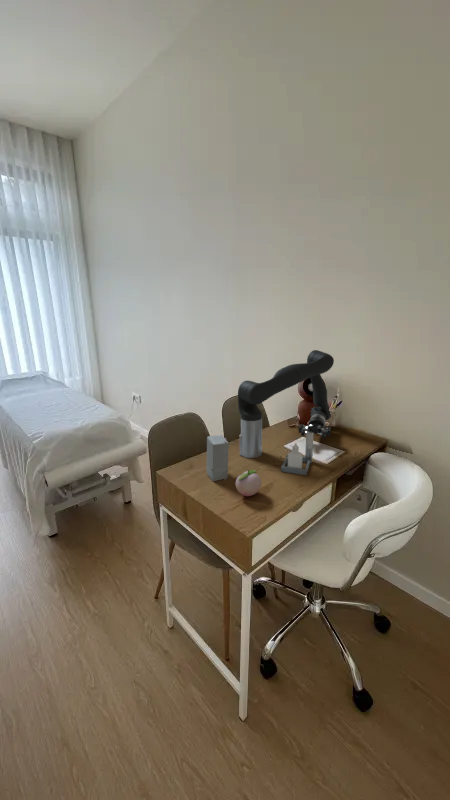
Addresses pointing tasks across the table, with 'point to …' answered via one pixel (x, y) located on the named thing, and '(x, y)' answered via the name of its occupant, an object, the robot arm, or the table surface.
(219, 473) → the skincare box
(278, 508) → the table surface
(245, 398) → the robot arm
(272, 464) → the table surface
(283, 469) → the pull frame
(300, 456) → the eye dropper bottle
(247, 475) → the decorative fruit
